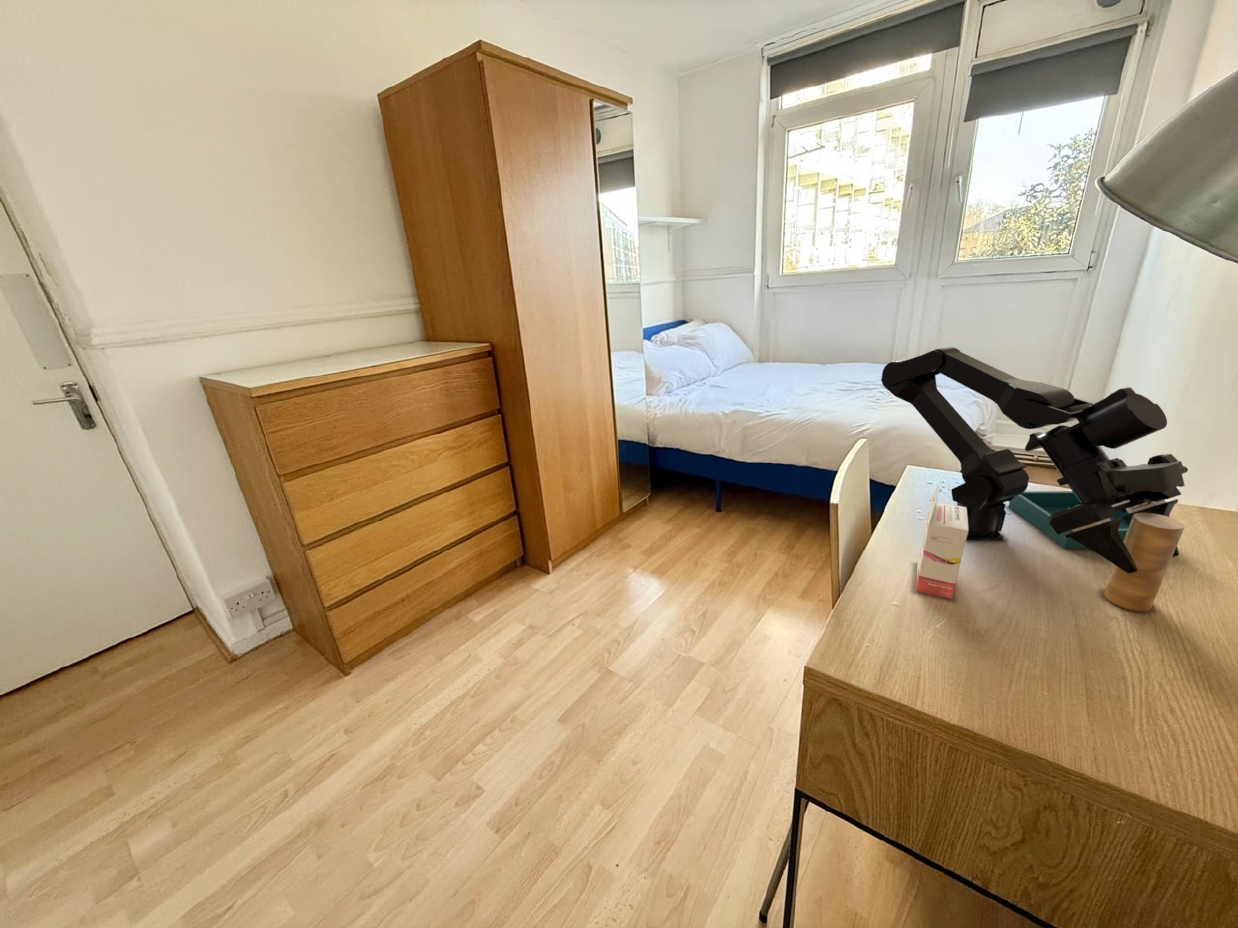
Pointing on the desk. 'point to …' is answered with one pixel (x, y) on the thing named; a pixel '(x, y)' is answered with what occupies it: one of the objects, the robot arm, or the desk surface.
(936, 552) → the ink cartridge box
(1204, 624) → the desk surface
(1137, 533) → the wood cylinder
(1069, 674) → the desk surface
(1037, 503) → the teal serving tray
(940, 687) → the desk surface
